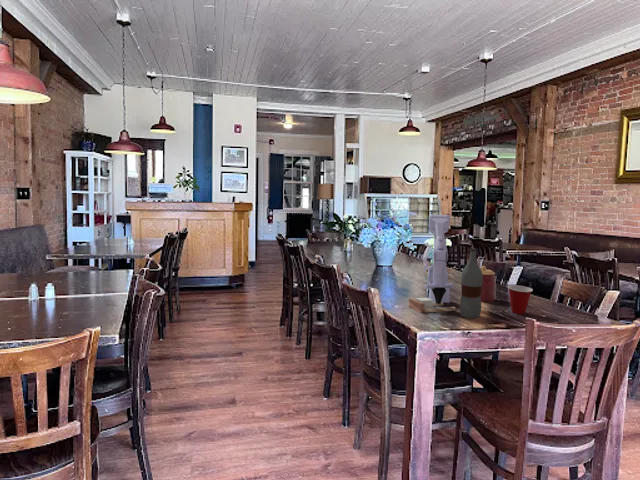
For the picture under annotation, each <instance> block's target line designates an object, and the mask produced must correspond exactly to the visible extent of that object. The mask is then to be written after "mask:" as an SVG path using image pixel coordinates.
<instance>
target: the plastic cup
mask: <svg viewBox="0 0 640 480" xmlns="http://www.w3.org/2000/svg"><path fill="white" fill-rule="evenodd" d="M507 289H508V293H509V295H508V296H509V303H510V304H509V305H510V311H511V313H512V312H513V313H512V314H515V313H516V315H525V314H526V311H527V307H528V304H529V300H530V296H531V294H532V292H533V290H534V289H533V288H531V287H529V286H528V287H527V286H524V285H517V284H513V285H512V284H511V285H507ZM524 313H525V314H524Z"/></svg>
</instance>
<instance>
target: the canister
mask: <svg viewBox="0 0 640 480" xmlns="http://www.w3.org/2000/svg"><path fill="white" fill-rule="evenodd" d="M480 269H481V271H482V275H483V282H482V289H481V296H480V297H481V302H485V301H489V302H495V300H496V291H497V290H496V289H497V283H496V280H497V276H496V273H495V272H494V271H493V270H491V269H487V266H485V265H482V266H481V267H480Z"/></svg>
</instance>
